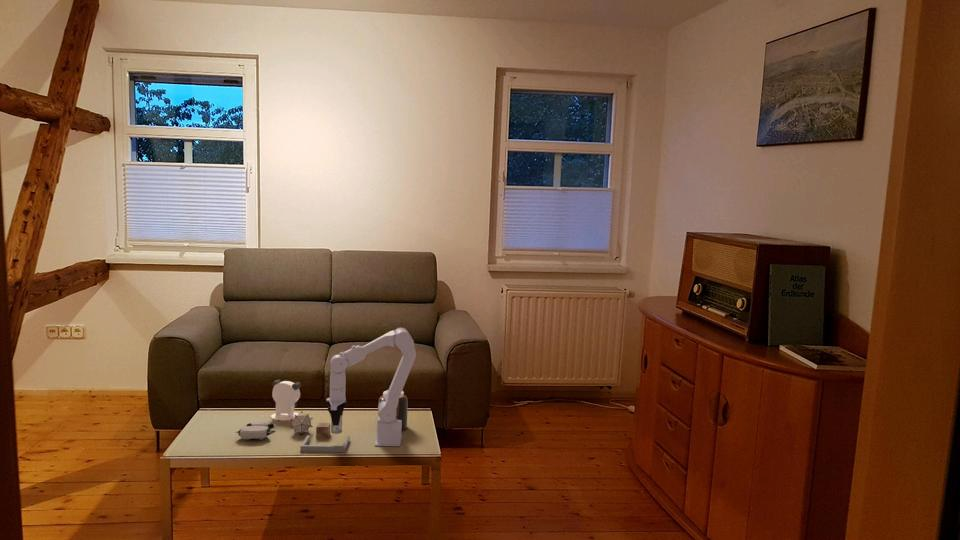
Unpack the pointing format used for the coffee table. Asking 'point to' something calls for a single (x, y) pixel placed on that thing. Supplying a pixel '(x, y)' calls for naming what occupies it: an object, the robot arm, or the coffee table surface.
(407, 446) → the coffee table surface
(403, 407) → the jar
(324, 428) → the walnut block
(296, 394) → the panda figurine
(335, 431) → the silver cylinder
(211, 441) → the coffee table surface
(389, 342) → the robot arm
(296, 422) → the game die
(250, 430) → the robot toy
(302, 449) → the parts pen
